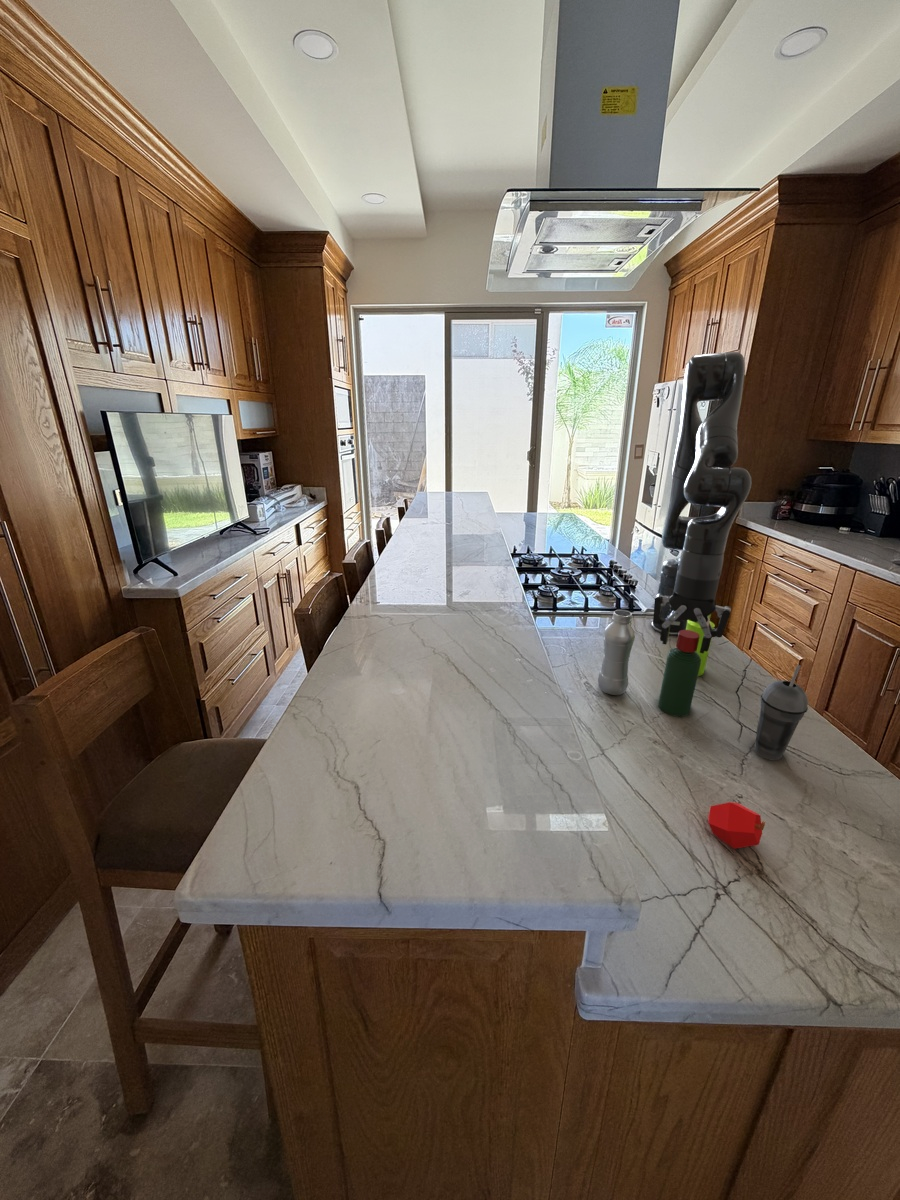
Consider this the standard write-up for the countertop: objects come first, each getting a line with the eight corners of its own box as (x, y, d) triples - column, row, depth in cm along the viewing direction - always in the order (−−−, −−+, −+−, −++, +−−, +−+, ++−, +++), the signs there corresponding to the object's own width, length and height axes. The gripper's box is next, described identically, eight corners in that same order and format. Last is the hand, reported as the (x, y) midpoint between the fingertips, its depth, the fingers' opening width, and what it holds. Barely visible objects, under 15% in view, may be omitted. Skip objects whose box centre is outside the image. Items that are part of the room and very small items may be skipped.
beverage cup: (782, 743, 96) (812, 654, 88) (796, 768, 89) (829, 675, 81) (741, 737, 97) (766, 649, 90) (752, 761, 91) (780, 669, 83)
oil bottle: (663, 695, 111) (676, 627, 104) (693, 706, 107) (709, 636, 100) (654, 709, 106) (667, 638, 99) (684, 720, 103) (701, 647, 96)
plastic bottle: (628, 700, 109) (641, 620, 101) (597, 696, 111) (608, 618, 103) (624, 684, 115) (637, 608, 107) (595, 681, 116) (605, 605, 109)
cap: (700, 649, 100) (703, 635, 99) (689, 654, 98) (692, 640, 97) (683, 641, 103) (686, 628, 102) (672, 646, 101) (674, 632, 100)
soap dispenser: (681, 676, 118) (697, 601, 110) (676, 662, 124) (690, 590, 117) (707, 679, 117) (725, 604, 109) (700, 665, 123) (717, 592, 115)
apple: (697, 804, 75) (757, 816, 69) (711, 788, 79) (768, 797, 74) (703, 848, 75) (763, 863, 69) (717, 829, 79) (774, 842, 74)
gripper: (742, 573, 93) (723, 648, 100) (663, 560, 100) (650, 632, 107) (739, 585, 87) (719, 664, 94) (655, 571, 95) (642, 645, 101)
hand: (683, 647), depth 100 cm, fingers open, 6 cm apart
